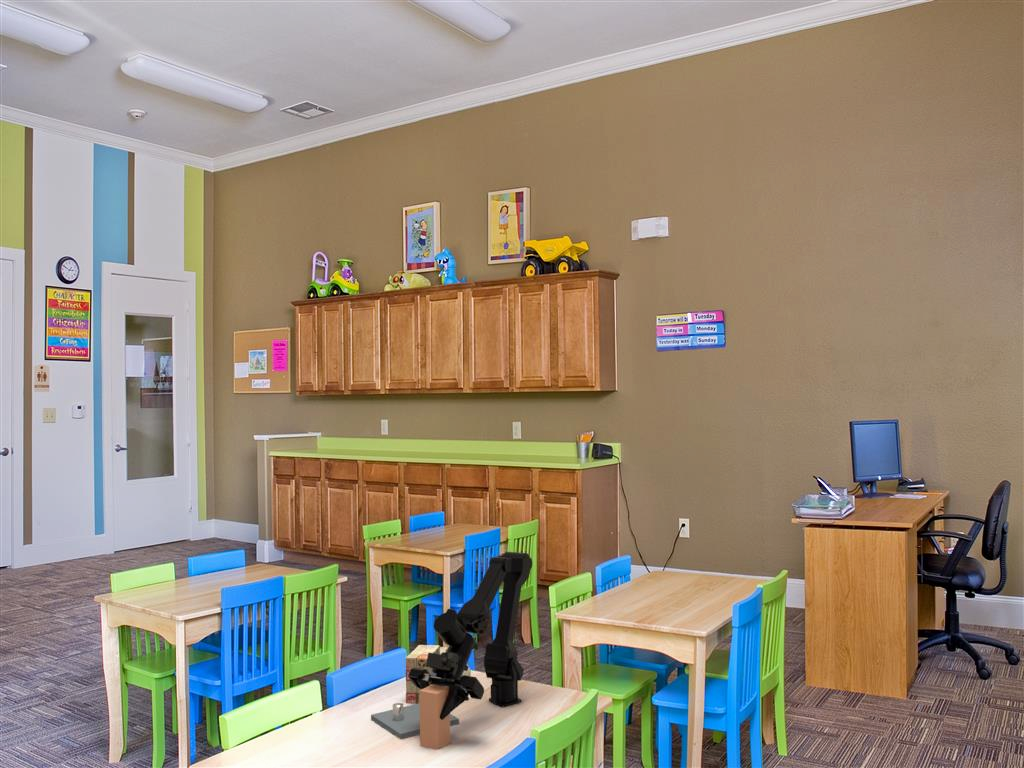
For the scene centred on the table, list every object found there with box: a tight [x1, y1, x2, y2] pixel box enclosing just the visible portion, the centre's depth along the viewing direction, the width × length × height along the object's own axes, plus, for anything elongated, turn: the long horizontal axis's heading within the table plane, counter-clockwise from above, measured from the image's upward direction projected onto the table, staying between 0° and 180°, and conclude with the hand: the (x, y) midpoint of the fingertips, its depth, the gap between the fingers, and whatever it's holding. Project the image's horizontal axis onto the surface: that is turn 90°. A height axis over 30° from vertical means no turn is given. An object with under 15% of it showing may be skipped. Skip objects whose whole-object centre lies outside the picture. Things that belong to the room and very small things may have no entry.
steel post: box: [392, 702, 404, 721], centre depth 205 cm, size 3×3×5 cm
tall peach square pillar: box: [419, 685, 451, 750], centre depth 192 cm, size 5×5×12 cm
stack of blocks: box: [405, 644, 449, 705], centre depth 230 cm, size 21×6×12 cm, turn 169°
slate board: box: [370, 703, 460, 740], centre depth 206 cm, size 16×16×1 cm
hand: (431, 716), depth 191 cm, fingers closed on tall peach square pillar, 5 cm apart
